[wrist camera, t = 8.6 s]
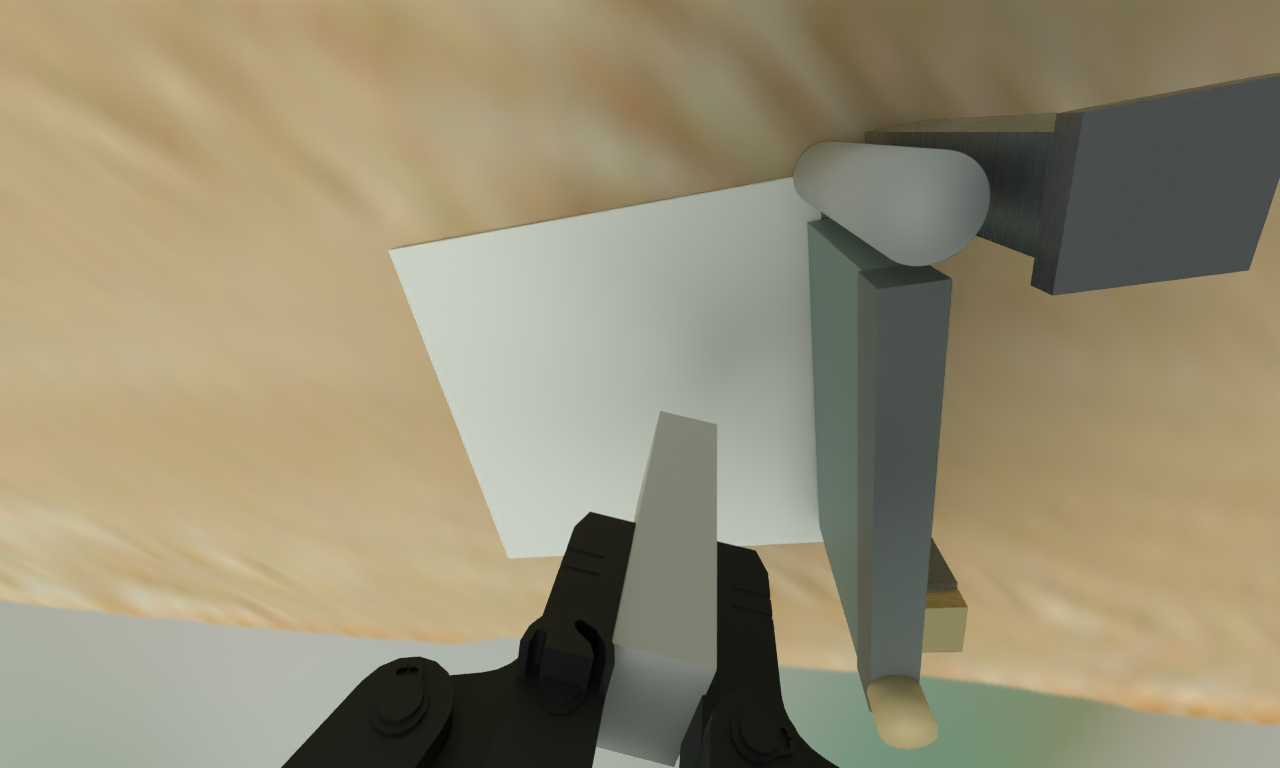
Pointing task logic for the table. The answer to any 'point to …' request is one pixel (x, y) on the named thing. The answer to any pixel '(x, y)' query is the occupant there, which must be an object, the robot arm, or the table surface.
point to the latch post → (943, 608)
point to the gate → (883, 391)
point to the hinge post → (1124, 182)
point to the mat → (629, 358)
